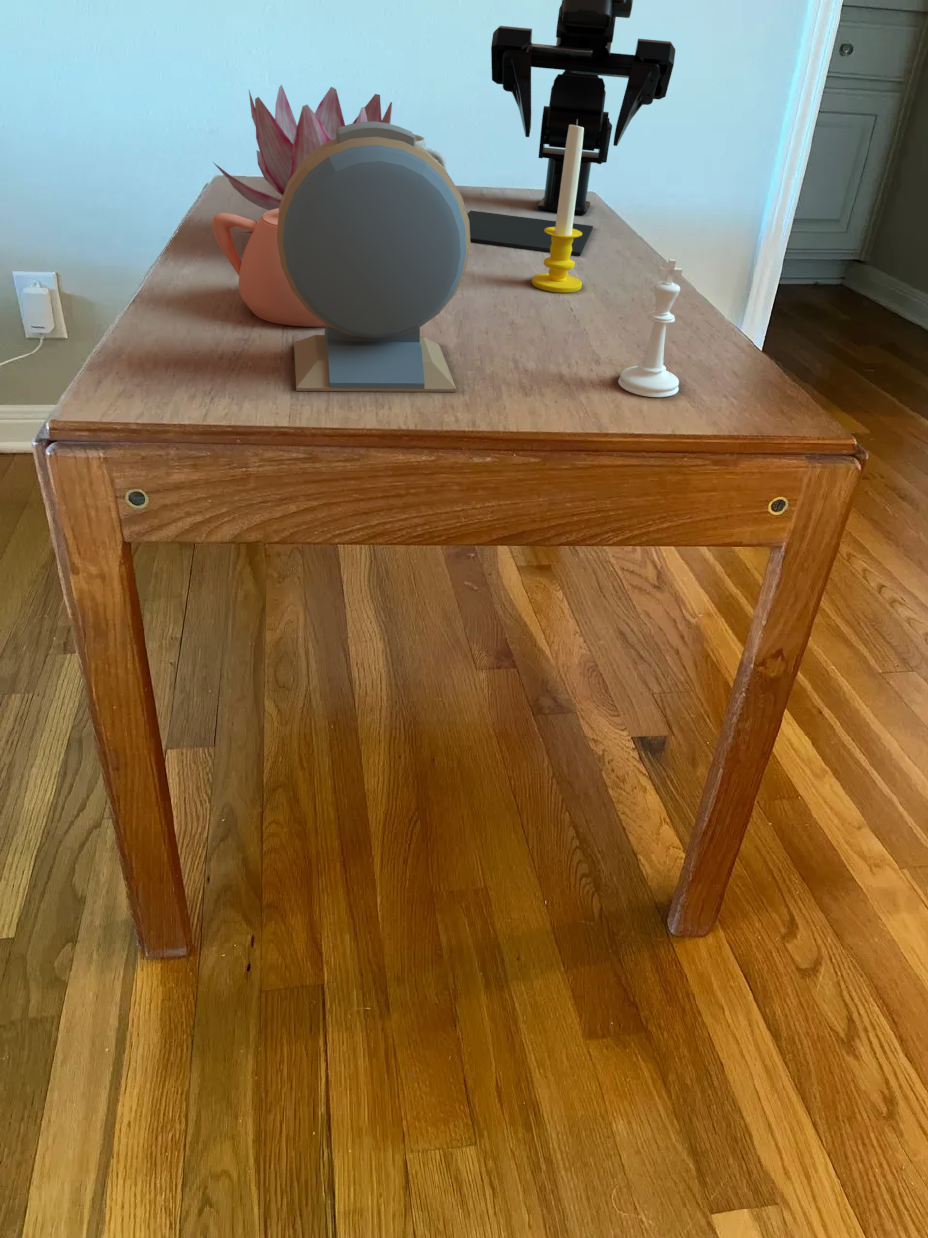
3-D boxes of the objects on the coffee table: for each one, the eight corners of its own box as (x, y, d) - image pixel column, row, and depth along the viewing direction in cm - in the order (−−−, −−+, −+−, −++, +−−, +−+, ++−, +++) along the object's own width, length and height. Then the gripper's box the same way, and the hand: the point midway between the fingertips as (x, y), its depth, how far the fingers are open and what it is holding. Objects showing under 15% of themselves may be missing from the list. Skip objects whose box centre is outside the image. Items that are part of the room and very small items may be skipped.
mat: (470, 213, 123) (470, 210, 123) (592, 228, 121) (593, 225, 121) (445, 238, 112) (445, 234, 111) (580, 255, 110) (580, 252, 109)
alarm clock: (450, 347, 82) (465, 117, 71) (469, 391, 74) (488, 140, 64) (281, 345, 79) (272, 106, 69) (282, 390, 71) (271, 129, 61)
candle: (548, 274, 102) (567, 112, 93) (590, 285, 100) (614, 120, 91) (522, 284, 99) (539, 116, 90) (565, 296, 96) (587, 125, 87)
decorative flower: (182, 258, 97) (166, 91, 89) (280, 217, 114) (274, 74, 106) (374, 292, 93) (377, 120, 84) (447, 244, 109) (456, 96, 101)
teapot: (231, 282, 92) (223, 176, 86) (416, 296, 93) (420, 192, 87) (202, 323, 82) (192, 206, 77) (410, 338, 83) (415, 223, 77)
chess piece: (612, 373, 79) (633, 249, 74) (669, 375, 80) (694, 252, 74) (625, 396, 75) (648, 267, 70) (685, 398, 76) (713, 270, 70)
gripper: (501, -72, 92) (480, 79, 91) (693, -55, 91) (675, 98, 90) (501, 12, 103) (483, 147, 102) (673, 27, 102) (656, 164, 101)
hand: (571, 138), depth 98 cm, fingers open, 9 cm apart
